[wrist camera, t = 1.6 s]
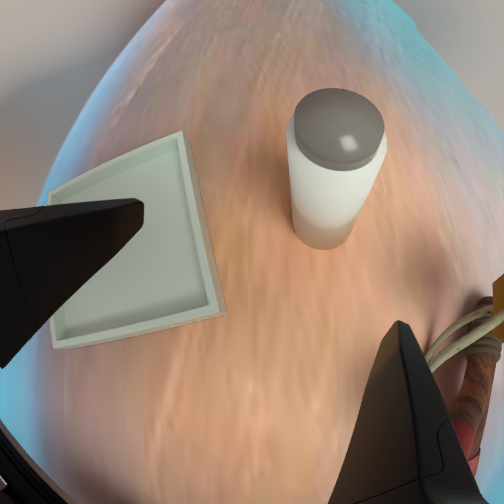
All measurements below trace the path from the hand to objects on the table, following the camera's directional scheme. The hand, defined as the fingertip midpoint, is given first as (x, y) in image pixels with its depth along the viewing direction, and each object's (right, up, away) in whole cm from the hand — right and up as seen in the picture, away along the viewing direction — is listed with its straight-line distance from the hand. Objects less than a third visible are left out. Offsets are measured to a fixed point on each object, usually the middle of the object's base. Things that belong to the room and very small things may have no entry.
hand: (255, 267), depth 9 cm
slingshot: (+14, -11, +10) cm, 20 cm away
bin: (-12, +1, +16) cm, 20 cm away
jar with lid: (+5, +3, +14) cm, 16 cm away
